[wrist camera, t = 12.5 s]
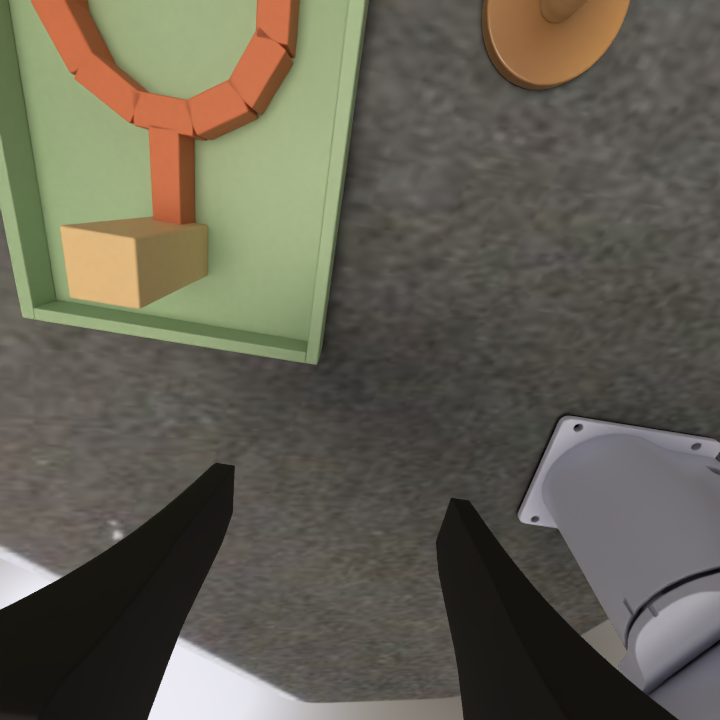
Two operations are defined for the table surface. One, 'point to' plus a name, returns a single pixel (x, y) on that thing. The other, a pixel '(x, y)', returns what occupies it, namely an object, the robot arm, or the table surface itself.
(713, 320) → the table surface
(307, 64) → the tray
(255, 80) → the ring
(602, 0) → the peg stand
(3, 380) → the table surface
